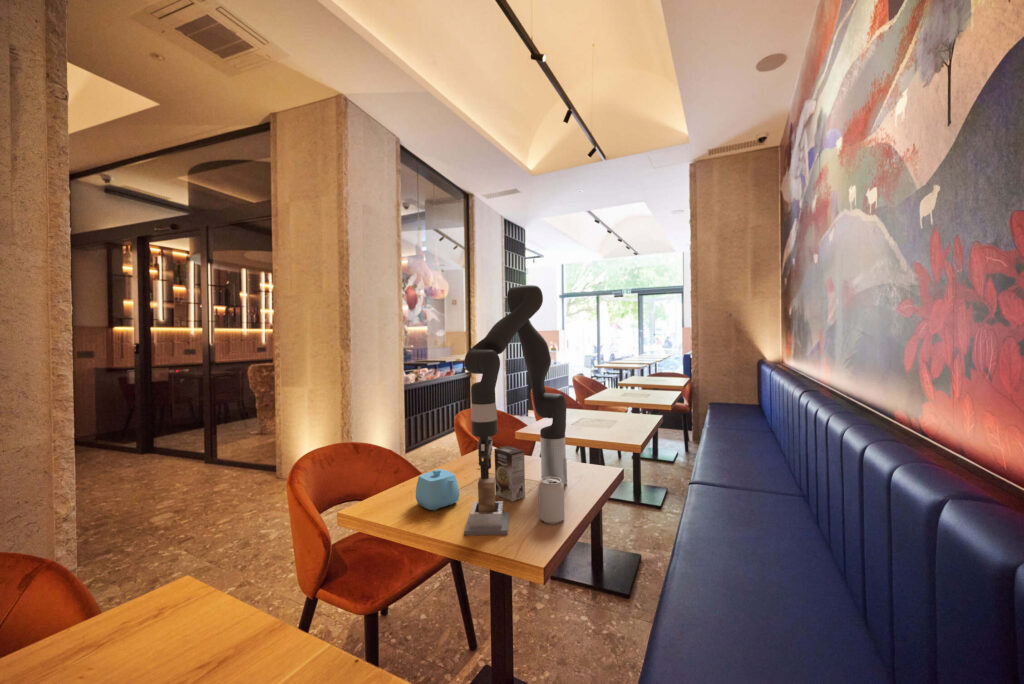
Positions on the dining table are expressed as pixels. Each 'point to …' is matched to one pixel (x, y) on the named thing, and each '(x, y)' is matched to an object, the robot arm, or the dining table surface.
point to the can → (551, 500)
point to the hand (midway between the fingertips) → (486, 473)
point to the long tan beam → (486, 495)
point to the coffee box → (509, 473)
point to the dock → (487, 521)
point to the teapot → (437, 489)
